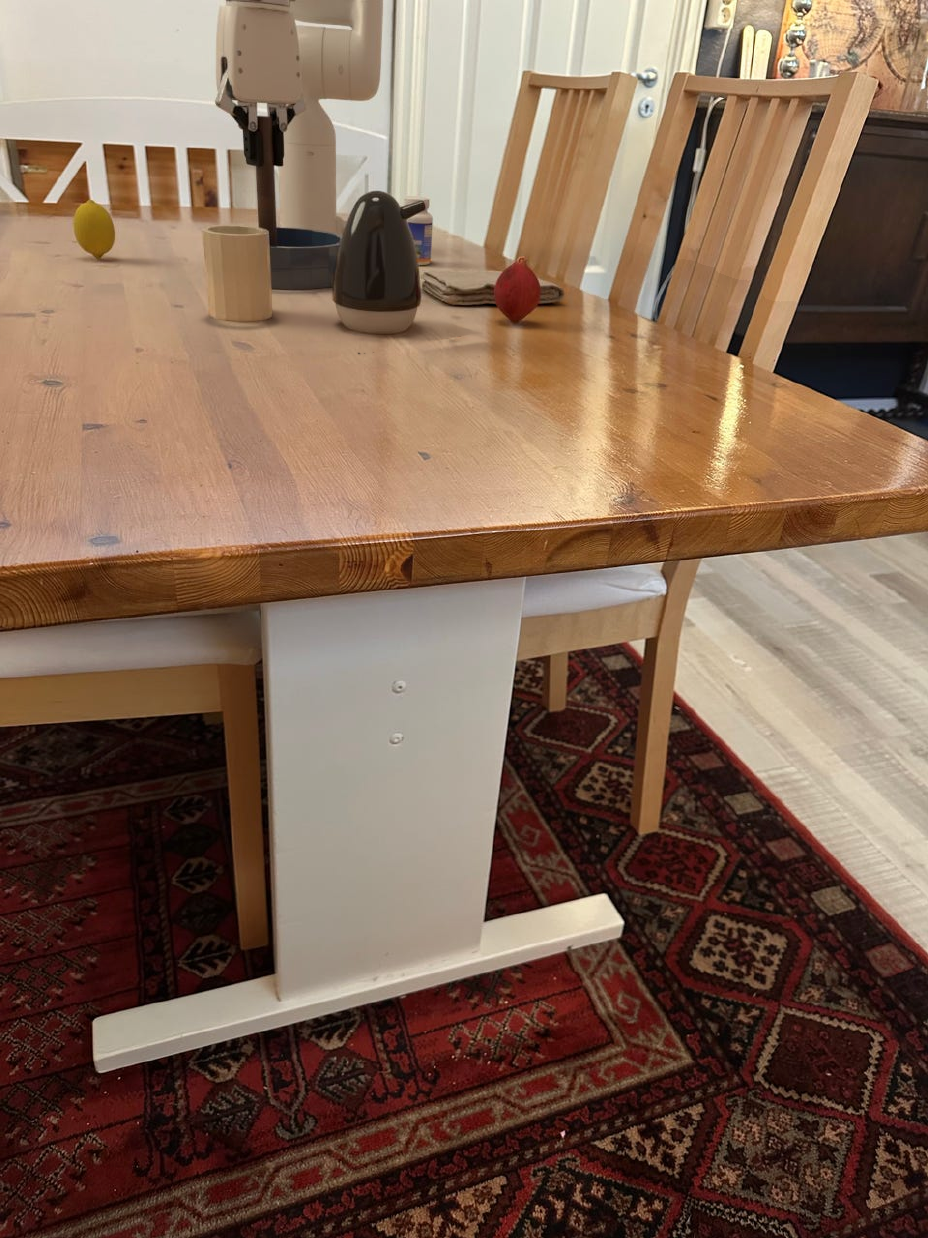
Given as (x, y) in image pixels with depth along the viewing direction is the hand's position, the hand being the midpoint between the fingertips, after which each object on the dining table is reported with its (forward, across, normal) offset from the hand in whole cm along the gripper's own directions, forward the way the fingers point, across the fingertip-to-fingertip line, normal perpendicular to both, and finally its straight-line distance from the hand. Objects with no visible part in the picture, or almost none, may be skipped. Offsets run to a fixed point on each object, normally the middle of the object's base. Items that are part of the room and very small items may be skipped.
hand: (264, 163), depth 118 cm
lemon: (+15, +14, -25) cm, 32 cm away
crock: (+15, +15, +17) cm, 27 cm away
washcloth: (+15, -23, +20) cm, 34 cm away
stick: (+13, 0, 0) cm, 13 cm away
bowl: (+15, -2, 0) cm, 15 cm away
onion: (+15, -16, +33) cm, 39 cm away
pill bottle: (+15, -30, -5) cm, 34 cm away
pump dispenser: (+15, +4, +29) cm, 33 cm away
